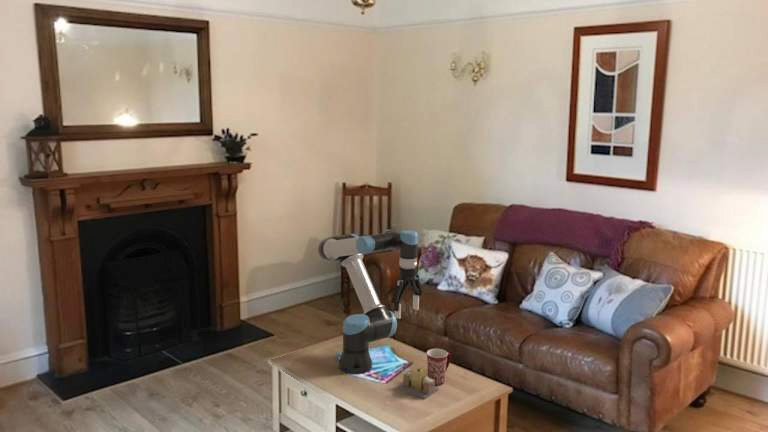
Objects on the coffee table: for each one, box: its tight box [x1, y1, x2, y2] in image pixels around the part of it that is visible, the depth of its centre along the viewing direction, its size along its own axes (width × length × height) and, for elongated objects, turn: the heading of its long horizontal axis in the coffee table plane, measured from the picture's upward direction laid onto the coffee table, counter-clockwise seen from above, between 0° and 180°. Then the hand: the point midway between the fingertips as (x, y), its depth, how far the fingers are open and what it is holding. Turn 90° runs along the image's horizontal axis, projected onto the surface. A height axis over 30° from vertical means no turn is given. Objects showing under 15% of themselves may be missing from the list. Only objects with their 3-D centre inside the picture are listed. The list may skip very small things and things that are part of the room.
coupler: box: [411, 366, 428, 392], centre depth 268 cm, size 5×4×8 cm
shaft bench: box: [398, 370, 439, 400], centre depth 269 cm, size 13×10×7 cm
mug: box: [426, 348, 452, 386], centre depth 277 cm, size 13×9×14 cm
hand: (406, 313), depth 277 cm, fingers open, 13 cm apart
